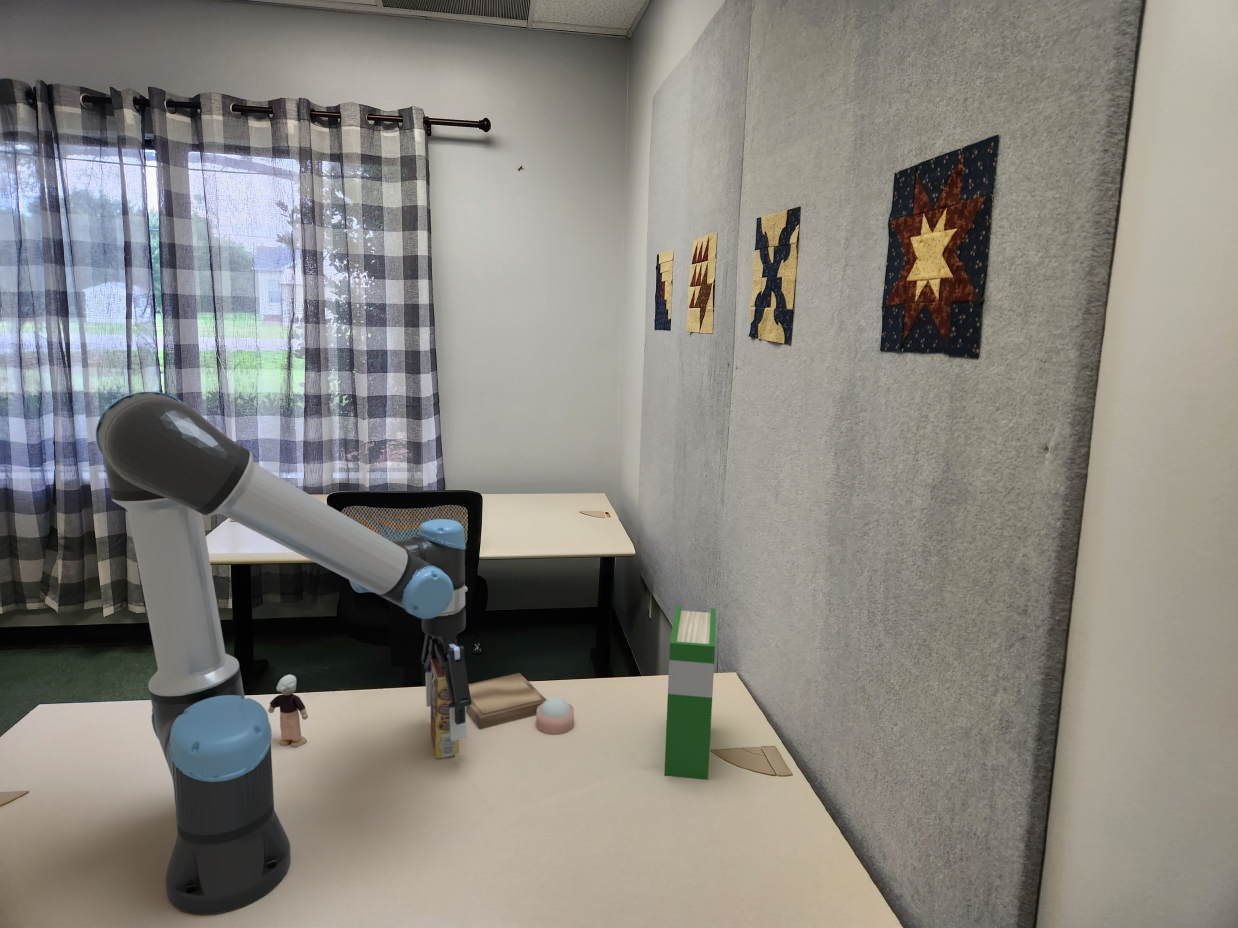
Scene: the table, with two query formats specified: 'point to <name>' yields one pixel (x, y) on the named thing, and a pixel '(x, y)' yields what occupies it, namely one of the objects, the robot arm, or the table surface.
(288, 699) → the grandmother figurine
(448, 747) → the candy box
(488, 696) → the brown tray
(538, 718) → the pincushion
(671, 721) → the hardback book
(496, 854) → the table surface
